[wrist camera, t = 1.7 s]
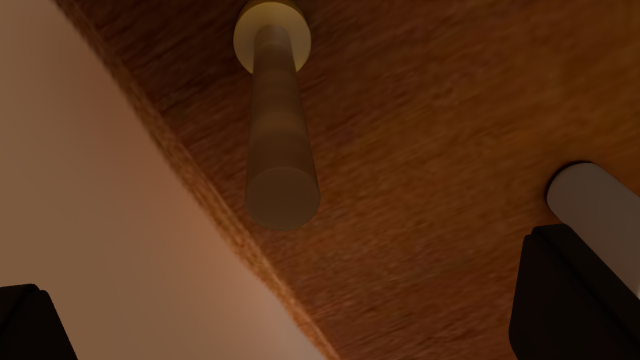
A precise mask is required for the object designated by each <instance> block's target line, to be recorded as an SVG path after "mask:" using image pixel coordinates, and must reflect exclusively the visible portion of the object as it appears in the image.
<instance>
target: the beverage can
mask: <svg viewBox="0 0 640 360" xmlns="http://www.w3.org/2000/svg"><path fill="white" fill-rule="evenodd" d="M547 203H548V206H549V207H550V209H551V211H552V212H553V213H554V214H555V215H556V216H557V217H558V218H559V219H560V220H561V221H562V222H563V223H564V224H567V225H568V226H570V227H571V228H572V229H573V230H574V231H575V232H576V233H577V234H578V235H579V236H580V238H581V239H582V240H583V241H584V242H585V243H586V244H587V245H588V246H589V247H590V248H591V249H592V250H593V251H594V252H595V253H596V254H597V255H598V256H599V257H600V258H601V259H602V261H603V262H604V263H605V264H606V265H607V266H608V267H609V268H610V269H611V270H612V271H613V272H614V273H615V274H616V275H617V276H618V277H619V278H620V279H621V280H622V281H623V282H624V284H625V285H626V286H627V287H628V288H629V289H630V290H631V291H632V292H633V293H634V294H635V295H636V296H637V297H638V298H639V299H640V198H639V197H638V196H636V195H635V194H634V193H633V192H631V191H630V190H629V189H628V188H626V187H625V186H624V185H622V184H621V183H620V182H619V181H617V180H616V179H615V178H614V177H612V176H611V175H610V174H608V173H607V172H606V171H605V170H603V169H602V168H601V167H600V166H597V165H595V164H593V163H580V164H575V165H572V166H570V167H567V168H565V169H564V170H562V171H561V172H560V173H559V174H558V175H557V176H556V177H555V178H554V180H553V181H552V183H551V185H550V187H549V190H548V195H547Z"/></svg>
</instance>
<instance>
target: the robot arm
mask: <svg viewBox="0 0 640 360" xmlns="http://www.w3.org/2000/svg"><path fill="white" fill-rule="evenodd" d="M509 340H510V344H511V347H512V349H513V351H514V353H515V355H516V357H517V358H518V360H640V299H639V298H638V297H637V296H636V295H635V294H634V293H633V292H632V291H631V290H630V289H629V288H628V287H627V286H626V285H625V284H624V282H623V281H622V280H621V279H620V278H619V277H618V276H617V275H616V274H615V273H614V272H613V271H612V270H611V269H610V268H609V267H608V266H607V265H606V264H605V263H604V262H603V261H602V259H601V258H600V257H599V256H598V255H597V254H596V253H595V252H594V251H593V250H592V249H591V248H590V247H589V246H588V245H587V244H586V243H585V242H584V241H583V240H582V239H581V238H580V236H579V235H578V234H577V233H576V232H575V231H574V230H573V229H572V228H571V227H570V226H568V225H567V224H564V223H562V224H553V225H544V226H537V227H534V229H533V230H532V232H531V234H530V235H526V236H525V238H524V241H523V247H522V253H521V259H520V265H519V271H518V277H517V283H516V289H515V295H514V302H513V308H512V314H511V320H510V326H509ZM0 360H78V359H77V356H76V354H75V352H74V350H73V348H72V345H71V343H70V341H69V339H68V336H67V334H66V332H65V330H64V327H63V325H62V323H61V321H60V318H59V316H58V314H57V312H56V309H55V307H54V305H53V303H52V300H51V298H50V296H49V294H48V293H47V292H46V291H45V290H39V288H38V287H37V286H36V285H35V284H23V285H14V286H5V287H0Z"/></svg>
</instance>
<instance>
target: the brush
mask: <svg viewBox="0 0 640 360" xmlns="http://www.w3.org/2000/svg"><path fill="white" fill-rule="evenodd" d="M233 43H234V49H235V53H236V56H237V58H238V60H239V61H240V63H241V64H242V65H243V67H244V68H245V69H246V70H248V71H249V72H250V73H251V74H253V79H252V95H251V110H250V126H249V142H248V158H247V173H246V189H245V205H246V208H247V211H248V213H249V214H250V216H251V217H252V218H253V219H254V220H255V221H256V222H257V223H258V224H260V225H261V226H263V227H266V228H268V229H272V230H277V231H286V230H292V229H296V228H298V227H301V226H302V225H304V224H306V223H307V222H308V221H309V220H311V219H312V217H313V216H314V215H315V213H316V212H317V210H318V208H319V204H320V190H319V185H318V180H317V175H316V170H315V165H314V160H313V154H312V149H311V144H310V139H309V134H308V129H307V124H306V118H305V113H304V108H303V103H302V98H301V93H300V88H299V82H298V77H297V71H299V70H300V69H301V68H302V67H303V65H304V64H305V62H306V61H307V59H308V56H309V54H310V50H311V33H310V30H309V27H308V24H307V21H306V18H305V16H304V14H303V12H302V10H301V9H300V7H299V6H298V5H297V4H296V3H295V2H294V1H292V0H249V1H248V2H247V3H246V4H245V5H244V6H243V8H242V9H241V11H240V13H239V15H238V18H237V21H236V26H235V30H234V36H233Z"/></svg>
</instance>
